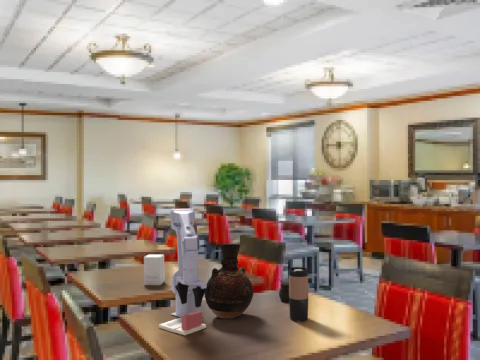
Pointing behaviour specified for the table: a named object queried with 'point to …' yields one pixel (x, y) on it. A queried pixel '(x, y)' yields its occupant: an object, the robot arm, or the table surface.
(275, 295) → the table surface
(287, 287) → the mate gourd
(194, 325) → the stub
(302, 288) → the travel mug
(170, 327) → the white flat slab
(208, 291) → the ceramic vessel
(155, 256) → the supplement box
